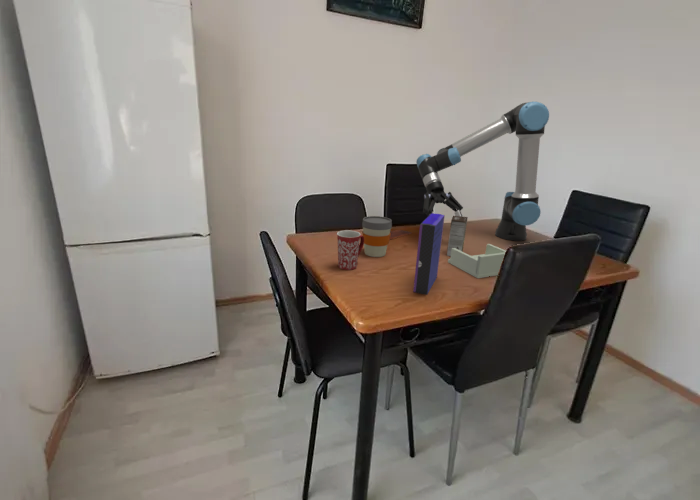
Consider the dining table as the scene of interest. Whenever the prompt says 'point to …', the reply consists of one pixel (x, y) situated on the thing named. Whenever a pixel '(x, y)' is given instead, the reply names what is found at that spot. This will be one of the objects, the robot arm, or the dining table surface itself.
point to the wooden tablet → (398, 233)
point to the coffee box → (457, 233)
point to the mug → (349, 248)
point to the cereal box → (428, 253)
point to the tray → (479, 261)
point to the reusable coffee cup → (376, 235)
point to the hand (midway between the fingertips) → (449, 225)
